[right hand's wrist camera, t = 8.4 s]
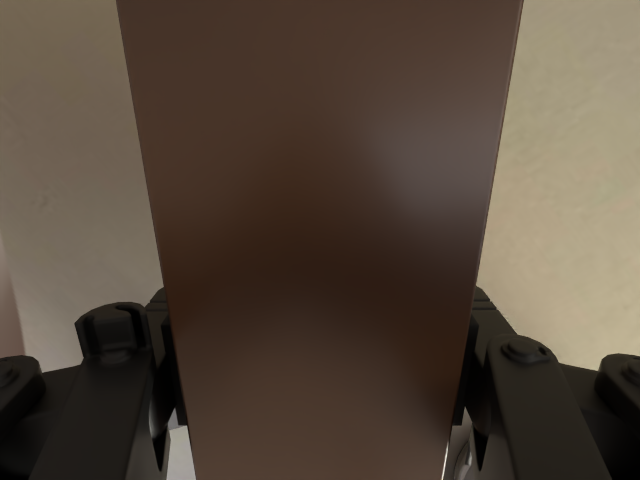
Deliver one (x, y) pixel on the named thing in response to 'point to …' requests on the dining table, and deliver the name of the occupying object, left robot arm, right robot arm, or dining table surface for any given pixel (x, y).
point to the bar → (319, 220)
